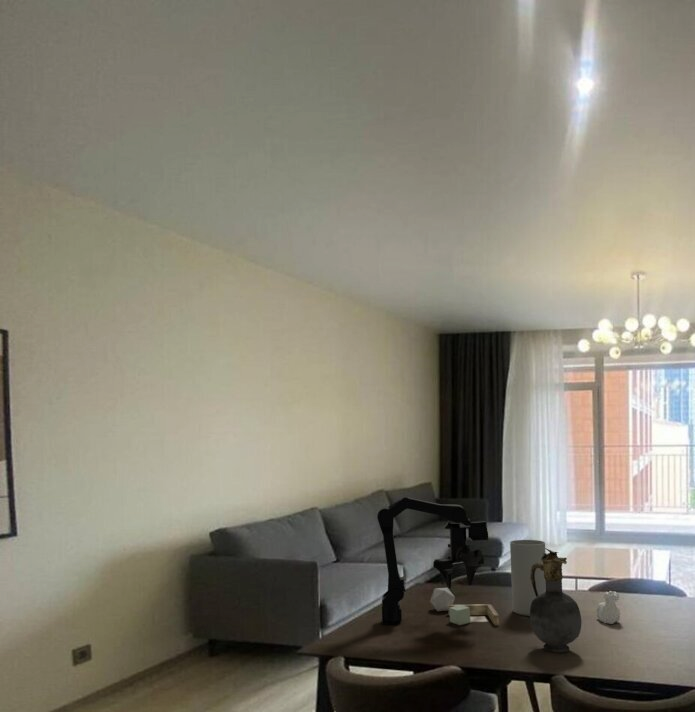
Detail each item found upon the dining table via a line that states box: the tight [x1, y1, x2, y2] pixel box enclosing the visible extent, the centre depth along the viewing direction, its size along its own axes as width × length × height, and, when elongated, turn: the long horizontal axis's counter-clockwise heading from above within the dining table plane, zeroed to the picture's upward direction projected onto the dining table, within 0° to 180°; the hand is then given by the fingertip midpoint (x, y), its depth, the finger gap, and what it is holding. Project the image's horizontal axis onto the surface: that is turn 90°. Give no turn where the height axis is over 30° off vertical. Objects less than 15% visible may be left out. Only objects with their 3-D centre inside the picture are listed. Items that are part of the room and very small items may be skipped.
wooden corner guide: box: [447, 603, 500, 627], centre depth 274 cm, size 15×16×4 cm
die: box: [429, 587, 456, 612], centre depth 290 cm, size 8×9×10 cm
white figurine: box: [595, 590, 621, 625], centre depth 268 cm, size 12×8×11 cm
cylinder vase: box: [509, 539, 547, 617], centre depth 284 cm, size 12×12×25 cm
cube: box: [448, 604, 472, 626], centre depth 270 cm, size 5×5×5 cm
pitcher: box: [529, 547, 582, 654], centre depth 240 cm, size 11×19×30 cm, turn 22°
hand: (459, 587), depth 272 cm, fingers open, 9 cm apart
